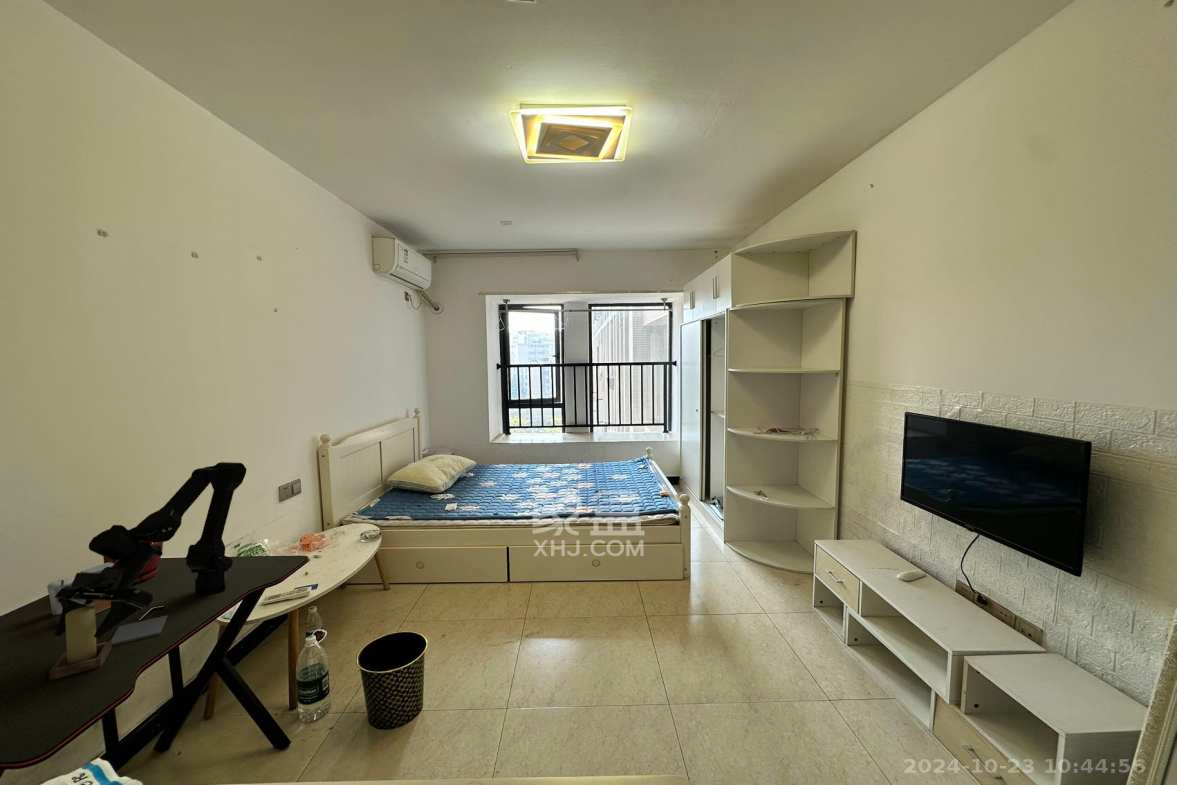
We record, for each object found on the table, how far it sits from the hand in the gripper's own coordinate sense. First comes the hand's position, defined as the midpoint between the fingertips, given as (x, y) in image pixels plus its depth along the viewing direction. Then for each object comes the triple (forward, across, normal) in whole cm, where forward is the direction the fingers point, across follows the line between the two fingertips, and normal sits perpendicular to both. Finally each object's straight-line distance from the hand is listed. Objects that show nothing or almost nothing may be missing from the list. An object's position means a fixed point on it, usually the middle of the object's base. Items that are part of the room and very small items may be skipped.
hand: (76, 636), depth 97 cm
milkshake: (-9, -29, +19) cm, 36 cm away
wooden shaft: (+4, 0, +6) cm, 7 cm away
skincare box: (-11, -21, +21) cm, 31 cm away
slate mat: (-4, 0, +14) cm, 15 cm away
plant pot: (-23, -30, +33) cm, 50 cm away
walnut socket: (+4, 0, +6) cm, 7 cm away
